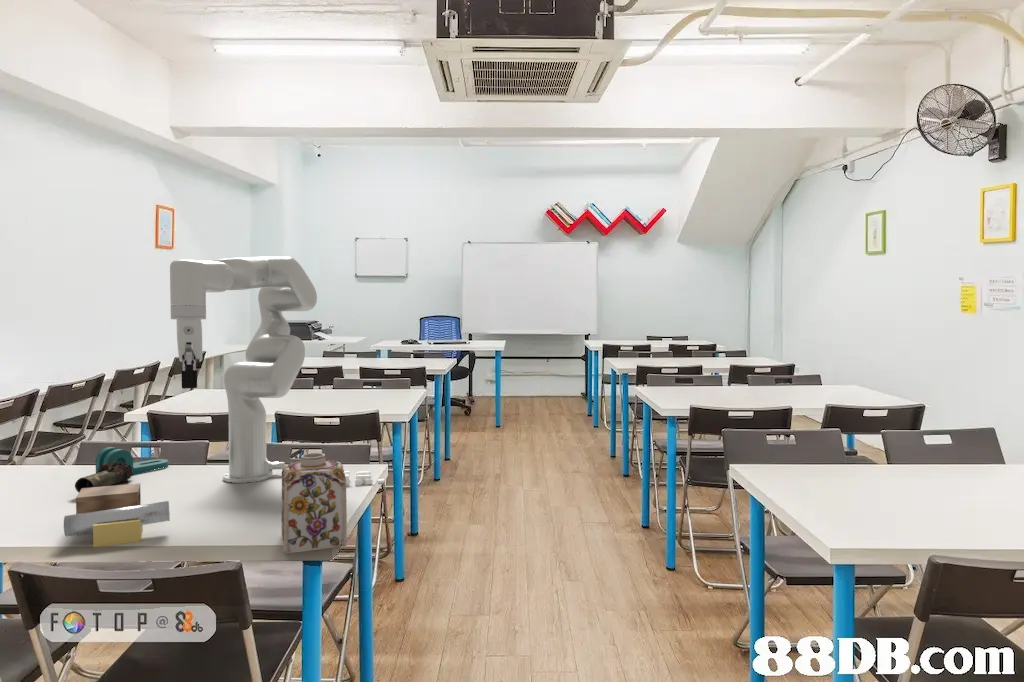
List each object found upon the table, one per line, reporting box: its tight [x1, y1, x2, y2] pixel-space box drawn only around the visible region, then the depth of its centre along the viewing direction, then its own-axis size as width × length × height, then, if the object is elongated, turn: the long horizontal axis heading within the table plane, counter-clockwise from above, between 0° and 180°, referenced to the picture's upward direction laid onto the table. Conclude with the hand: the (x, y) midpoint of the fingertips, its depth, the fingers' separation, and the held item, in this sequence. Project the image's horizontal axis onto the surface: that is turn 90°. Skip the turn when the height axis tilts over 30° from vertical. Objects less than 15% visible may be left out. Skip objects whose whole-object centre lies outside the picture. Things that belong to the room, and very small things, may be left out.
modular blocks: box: [344, 470, 385, 486], centre depth 181 cm, size 20×7×4 cm, turn 104°
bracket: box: [95, 446, 169, 475], centre depth 194 cm, size 18×7×8 cm, turn 145°
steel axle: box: [63, 500, 171, 538], centre depth 137 cm, size 18×4×4 cm, turn 115°
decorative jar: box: [280, 452, 348, 554], centre depth 135 cm, size 12×12×18 cm
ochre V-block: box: [92, 519, 144, 548], centre depth 137 cm, size 8×7×4 cm
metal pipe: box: [74, 461, 135, 493], centre depth 176 cm, size 18×7×6 cm, turn 177°
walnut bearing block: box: [75, 482, 142, 536], centre depth 145 cm, size 11×8×8 cm
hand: (189, 385), depth 161 cm, fingers open, 9 cm apart
